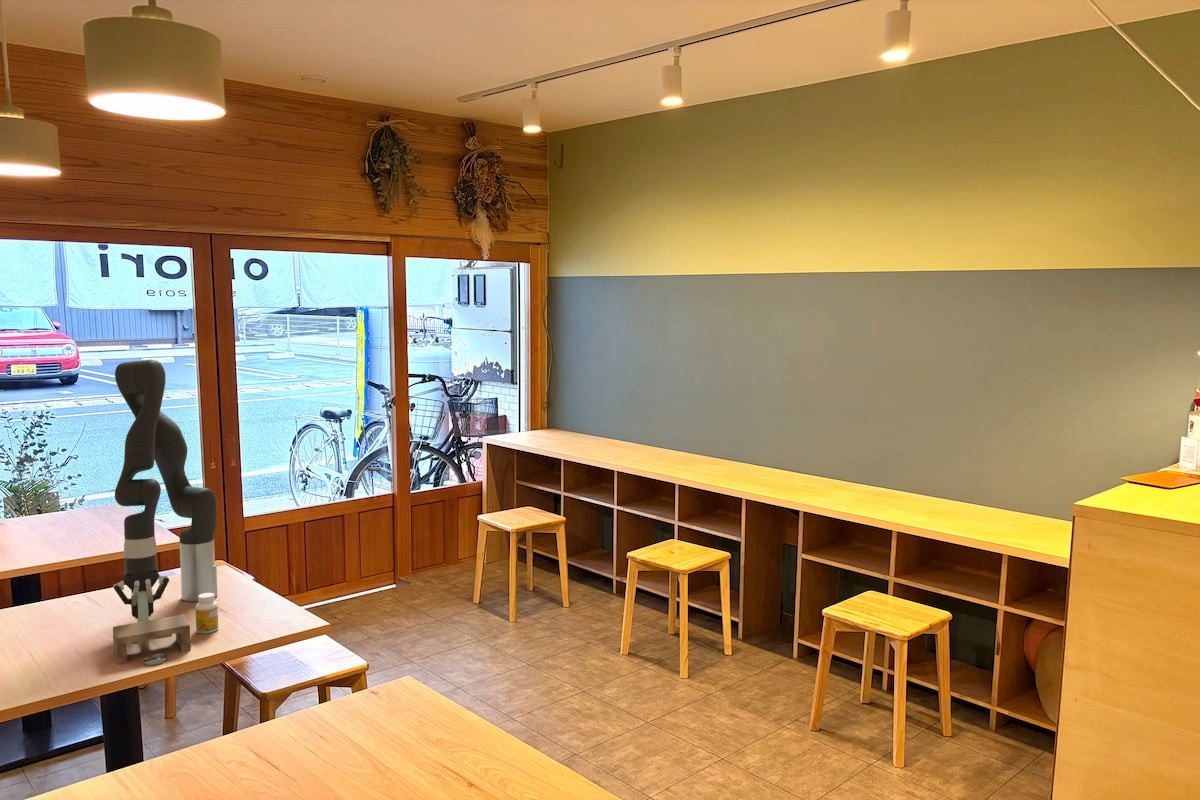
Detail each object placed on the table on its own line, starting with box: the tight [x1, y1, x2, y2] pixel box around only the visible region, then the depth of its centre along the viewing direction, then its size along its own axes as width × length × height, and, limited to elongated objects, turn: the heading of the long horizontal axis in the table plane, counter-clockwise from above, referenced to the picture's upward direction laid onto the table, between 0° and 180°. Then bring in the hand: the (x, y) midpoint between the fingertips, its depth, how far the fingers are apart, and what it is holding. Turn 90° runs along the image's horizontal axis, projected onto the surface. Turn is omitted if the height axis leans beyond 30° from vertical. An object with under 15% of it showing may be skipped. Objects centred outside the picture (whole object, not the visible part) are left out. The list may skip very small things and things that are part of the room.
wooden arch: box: [112, 614, 192, 665], centre depth 208 cm, size 16×9×6 cm, turn 125°
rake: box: [130, 591, 173, 645], centre depth 216 cm, size 9×16×13 cm, turn 36°
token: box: [143, 653, 168, 667], centre depth 202 cm, size 5×5×1 cm
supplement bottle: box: [195, 593, 219, 634], centre depth 222 cm, size 5×5×10 cm
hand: (142, 616), depth 222 cm, fingers closed on rake, 2 cm apart
